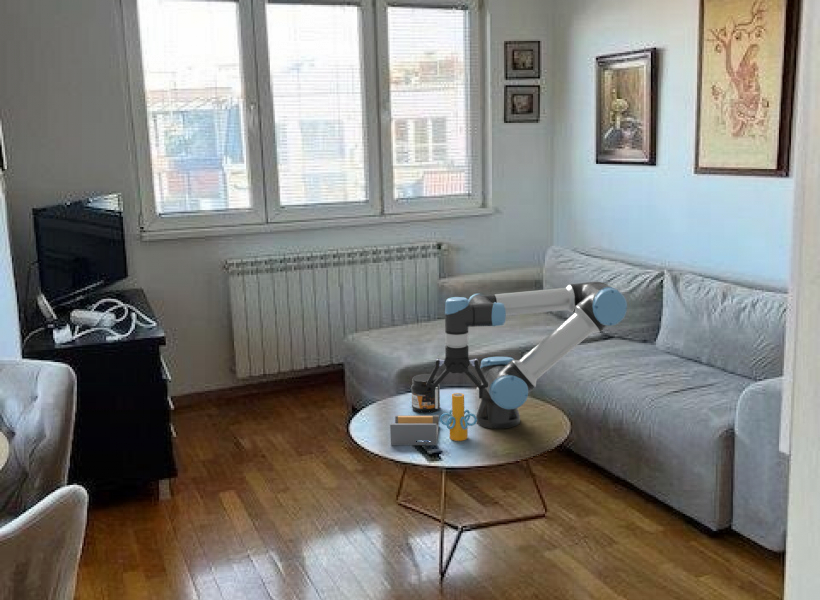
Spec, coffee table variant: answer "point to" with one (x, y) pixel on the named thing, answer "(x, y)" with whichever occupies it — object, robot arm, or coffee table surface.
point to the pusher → (415, 419)
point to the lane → (414, 432)
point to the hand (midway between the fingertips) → (457, 407)
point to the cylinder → (458, 419)
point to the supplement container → (423, 394)
